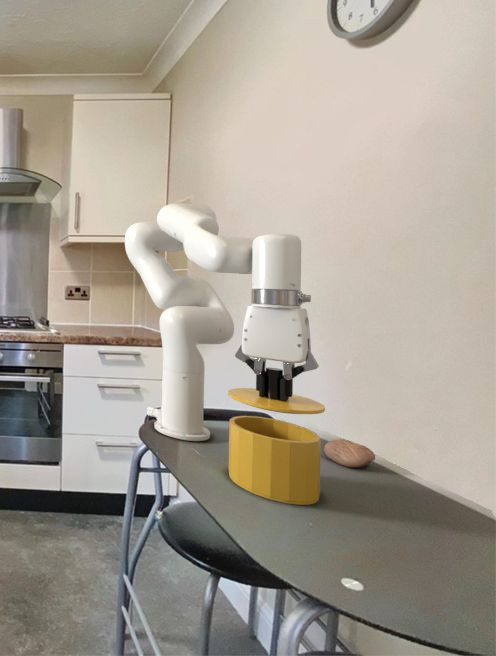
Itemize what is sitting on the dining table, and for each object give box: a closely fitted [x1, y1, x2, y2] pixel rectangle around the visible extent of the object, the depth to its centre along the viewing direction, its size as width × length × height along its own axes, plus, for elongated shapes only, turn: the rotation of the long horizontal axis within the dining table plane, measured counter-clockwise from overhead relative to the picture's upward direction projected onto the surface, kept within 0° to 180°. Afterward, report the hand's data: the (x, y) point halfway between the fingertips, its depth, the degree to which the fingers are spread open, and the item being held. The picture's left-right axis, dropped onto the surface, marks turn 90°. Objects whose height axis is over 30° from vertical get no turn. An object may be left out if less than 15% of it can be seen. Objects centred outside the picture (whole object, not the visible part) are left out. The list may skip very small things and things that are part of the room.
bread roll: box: [323, 438, 376, 469], centre depth 86 cm, size 8×6×8 cm
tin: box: [227, 415, 322, 506], centre depth 75 cm, size 14×14×10 cm
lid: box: [227, 366, 326, 415], centre depth 75 cm, size 15×15×7 cm
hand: (273, 396), depth 75 cm, fingers closed on lid, 2 cm apart
